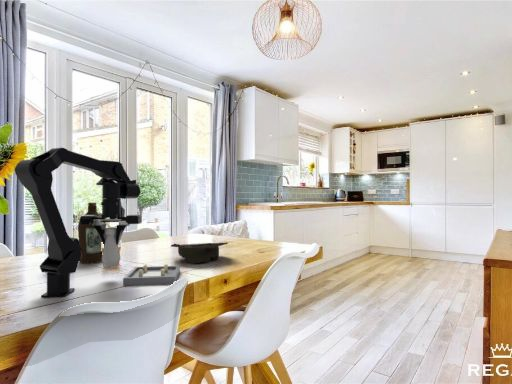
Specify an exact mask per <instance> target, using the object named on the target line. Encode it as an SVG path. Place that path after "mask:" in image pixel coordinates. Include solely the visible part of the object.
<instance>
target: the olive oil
mask: <svg viewBox="0 0 512 384" xmlns="http://www.w3.org/2000/svg"><path fill="white" fill-rule="evenodd" d="M84 215H97V217H101V215H102V214H101V215H100V213H99V212H98V211H97V202H88V203H87V211H86V213H85V214H84ZM104 224H106V225H107V222H104ZM92 225H93V223H90V224H81V225H80V224H79V222H78V224H77V233H78V234H77V235H78V240H79V245H80V247H81V249H82V251H81V255H82V256H81V258H80V261H79V262H78V263H80V264H85V265H86V264H89V265H90V264H97V263H101V262H102V256H103V255H102V251H101V242H102V240H101V237H100V235H99V233H98V232H97V230H96V229H95V227H92ZM102 263H103V262H102Z"/></svg>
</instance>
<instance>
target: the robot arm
mask: <svg viewBox="0 0 512 384" xmlns="http://www.w3.org/2000/svg"><path fill="white" fill-rule="evenodd" d="M62 164H64V165H67V166H71V167H75V168H79V169H82V170H86V171H89V172H91V173H93V174H94V175H96V176H98V177H100V180H98V181H97V182H96V183H95V184H96V186H101V187H102V188H101V195H102V196H101V198H102V199H101V202H100V206H101V207H102V208H101V217H97V215H85V214H84V215H81V216H80V217H79V219H78V223H79V224H80V225H81V224H90V223H93V225H92V227H95V229H96V230H97V232H98V233H99V235H100V237H101V240H102V242H103V244H104V245H105V240H106V235H105V234H104V230H105V229H106V228H107V223H118V224H116V244H117V245H118V246H119V245H120V244H119V243H120V242H121V239H122V236H123V233H124V231H125V229H126V227H129V226H130V225H139V224H141V223H143V221H142V216H141V214H127V215H126V216H125V214H126V210H125V208H124V207H123V205H122V201H121V200H125V199H137V198H138V197H140V195H141V188H140V185H139V184H138V183H137V180H136V179H130V177H129V175H128V174H127V172H126V170H125V168H124V165H123V163H122V162H120V161H115V160H101V159H97V158H94V157H91V156H88V155H85V154H81V153H78V152H75V151H72V150H69V149H67V148H66V147H54V148H53V147H52V148H51V149H49V150H48V151H45V152H44V153H42V154H39V155H37V156H34V157H32V158H30V159H22V160H20V161H18V162H17V164H16V165H15V167H14V174H15V176H16V178H17V179H18V180H19V182H20V183H21V185H22V186H23V187H24V188H25V190H27V191H28V192H29V194H30V195H31V197H32V200H33V202H34V204H35V207H36V209H37V212H38V215H39V217H40V218H39V219H40V220H41V223H42V225H43V229H44V231H45V233H46V236H47V238H48V239H47V240H48V244H47V249H46V251H47V255H48V256H47V257H46V258H45V259H44V261H43V262H41V263H40V265H39V269H40V271H41V273H45V274H46V292H44V293H43V294H41V296H40V297H41V298H50V297H51V298H55V297H59V298H60V297H66V296H68V295H70V294H71V293H72V292H73V291H76V290H75V288H74V287H71V274H74V273H76V271H77V269H78V265H79V263H80V262H79V261H80V258H81V256H82V255H81V251H82V249H81V247H80V245H79V238H78V237H77V238H76V237H74V238H70V237H71V236H69V234H68V232H67V230H66V226H65V224H64V221H63V218H62V215H61V212H60V209H59V208H58V205H57V201H56V200H55V195H54V194H53V193H54V192H53V190H52V186H53V179H54V177H53V172H54V171H56V169H58V168H59V167H60V166H61V165H62ZM104 222H105V223H106V224H104Z"/></svg>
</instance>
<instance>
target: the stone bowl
mask: <svg viewBox="0 0 512 384" xmlns="http://www.w3.org/2000/svg"><path fill="white" fill-rule="evenodd" d="M228 244H229V242H203V243H199V242H198V243H184V244H183V243H182V244H179V243H173V244H171V245H170V248H171V247H173V248H177V252H178V253H177V254H178V255H179V256H180V257H181V258H184V259H186V263H188V264H189V263H190V265H191V264H192V263H193V264H194V265H196V263H197V264H201V263H202V262H203V263H204V262H205V263H207V262H209V261H211V260H212V261H216V260H219V257H220V247H221V246H224V245H228Z"/></svg>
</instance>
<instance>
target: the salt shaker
mask: <svg viewBox="0 0 512 384" xmlns="http://www.w3.org/2000/svg"><path fill="white" fill-rule="evenodd" d="M116 228H117V226H116V227H114V226H112V227H111V226H110V227H109V226H108V227H106V229H105V230H104V234H105V235H106V240H105V245H104V250H103V256H102V264H103V266H104V267H105V268H115V267H117V266H119V264H120V261H121V254H120V249H119V244H118V245H117V244H116Z"/></svg>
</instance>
